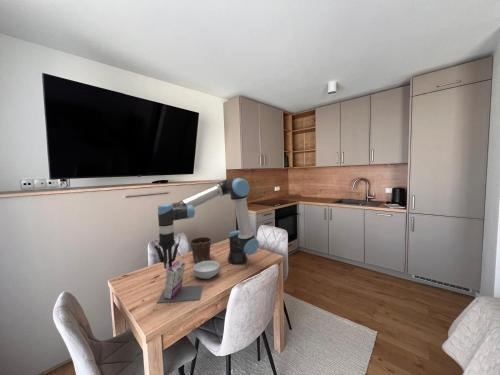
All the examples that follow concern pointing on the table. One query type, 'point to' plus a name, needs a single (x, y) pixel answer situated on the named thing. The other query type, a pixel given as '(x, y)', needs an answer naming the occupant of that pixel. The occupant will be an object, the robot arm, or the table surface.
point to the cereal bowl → (206, 269)
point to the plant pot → (201, 249)
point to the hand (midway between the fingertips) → (168, 273)
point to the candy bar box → (174, 279)
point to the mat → (183, 294)
